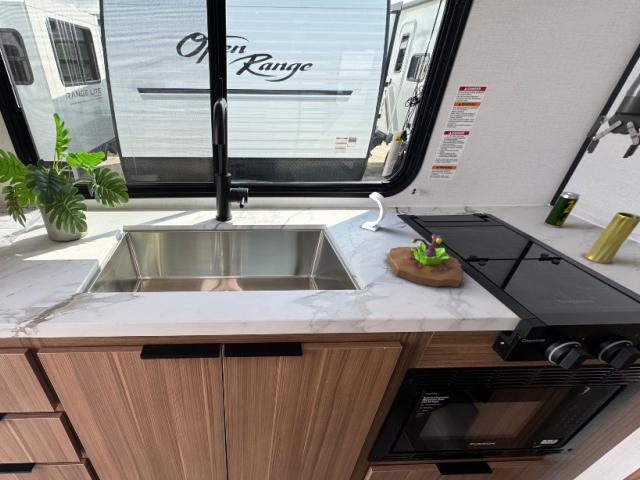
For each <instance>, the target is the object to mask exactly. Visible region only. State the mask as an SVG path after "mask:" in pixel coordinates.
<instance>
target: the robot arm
mask: <svg viewBox="0 0 640 480" xmlns="http://www.w3.org/2000/svg"><path fill="white" fill-rule="evenodd" d="M606 123H608V127H607V128H605V129H603V130H602V131H600V132H599V133H597V132H598V131H599V129H600V128H601V126H602V125H604V124H606ZM610 134H612V135H617V134H619V135H622V136H627V135H629V138H630V139H631V143H632V144H630V145H629V147H628V148H627V149H626V151H625V152H624V154H623V156H622V158H623V159H628V158H629V157H632V156H634V154H635V153H636V151H637V150H638V148H639V146H640V72H639V74H638V75H637V77H636V78H635V79H634V81H633V82H632V83H631V84H630V87H629V88H628V89H627V91H626V92H625V95H624V97H623V98H622V99H621V102H620V103H619V105H618V107H617V108H616V110H615V112H614V114H612V116H606V115H600V116H598V117H597V118H596V120H595V122H594V123H593V124H592V126H591V127H590V129H589V131H588V132H587V134H586V138H589V139H590V140H591V142H590V143H589V144H588V147H587V148H586V152H587V154H593V153H594V152H595V150H596V148H597V146H598V145H599V143H600V139H602V138H603V137H604V138H605V136H608V135H610Z"/></svg>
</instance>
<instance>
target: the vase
mask: <svg viewBox="0 0 640 480" xmlns="http://www.w3.org/2000/svg"><path fill="white" fill-rule="evenodd" d="M638 224H640V215H637V214H635V213H630V212H623V211H618V212H617V213H616V214H615V215H614V216H613V218H612V219H611V221H610V222H609V223H608V225H606V227H605V228H604V230H603V231H602V232H601V234H600V235H599V237H598V238H597V239H596V240H595V242H593V244H592V245H591V246H590V248H589V249H588V251H586V253H585V254H584V257H585V258H586V259H587V260H590V261H592V262H595V263H599V264H610V263H611V262H612V261H613V259H614V257H615V256H616V254H617V253H618V252H619V250H620V249H621V247H622V245H623V244H624V243H625V241H626V240H627V239H628V238H629V236H630V235H631V234H632V232H633V231H634V230H635V229H636V227H638Z"/></svg>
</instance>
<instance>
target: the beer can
mask: <svg viewBox="0 0 640 480" xmlns="http://www.w3.org/2000/svg"><path fill="white" fill-rule="evenodd" d="M580 196H581V194H579V193H576V192H571V191H563V192H562V193H561V194H559V196H558V198H557V200H556V201H555V203H554V205H553V206H552V208H551V210H550V212H549V213H548V215H547V217H546V218H545V219H544V225H545V226H547V227H549V228H550V227H551V228H556V229H557V228H558V229H559V228H561V227H562V226H563V225H564V223H565V222H566V221H567V219H568V217H569V215H570V214H571V213H572V211H573V209H574V208H575V206H576V204H577V203H578V202H579V200H580Z"/></svg>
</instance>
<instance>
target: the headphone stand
mask: <svg viewBox="0 0 640 480" xmlns="http://www.w3.org/2000/svg"><path fill="white" fill-rule="evenodd" d="M368 196H369V197H368V198H370V199H372V200H374V201H375V202H376V203H377V205H378V207H379V216H378V218H377V219H376V221H366V222H365V223H363V224H362V225H361V228H362V229H365V230H369V231H373V232H375V231H378V229H380V227H381V225H380V224H379V223H381V221H383V220H384V219H385V217H386V215H387V213H388V203H387V200H386V198H385V197H384V196H383V195H382V194H380V193H379V192H376V191H374V192H372V193H371V194H369V195H368Z"/></svg>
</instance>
